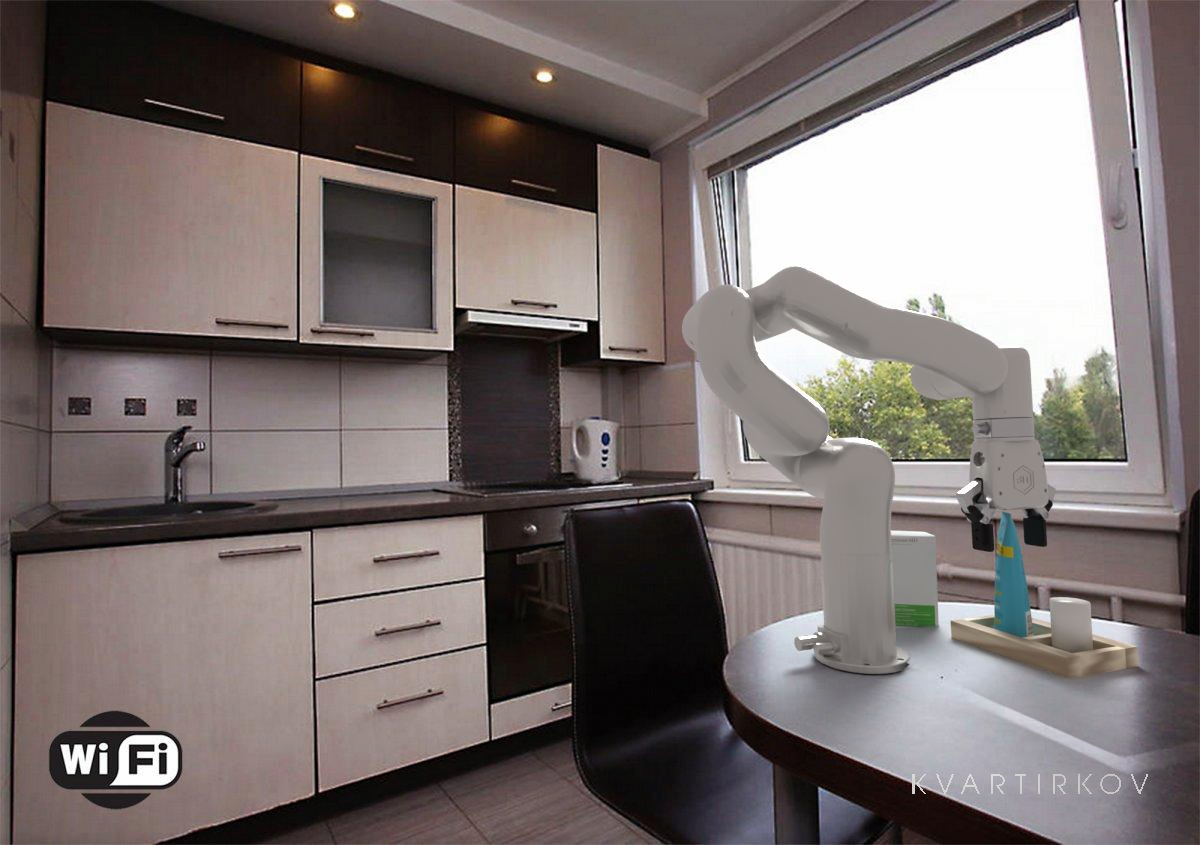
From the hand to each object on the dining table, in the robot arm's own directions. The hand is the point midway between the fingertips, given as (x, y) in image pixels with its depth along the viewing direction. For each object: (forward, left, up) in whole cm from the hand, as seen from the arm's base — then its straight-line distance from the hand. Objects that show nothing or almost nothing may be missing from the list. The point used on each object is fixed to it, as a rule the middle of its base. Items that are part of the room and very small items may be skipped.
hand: (1009, 547), depth 93 cm
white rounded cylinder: (0, -8, -14) cm, 16 cm away
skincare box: (-5, +16, -15) cm, 22 cm away
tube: (0, 0, -14) cm, 14 cm away
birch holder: (0, -3, -15) cm, 15 cm away
